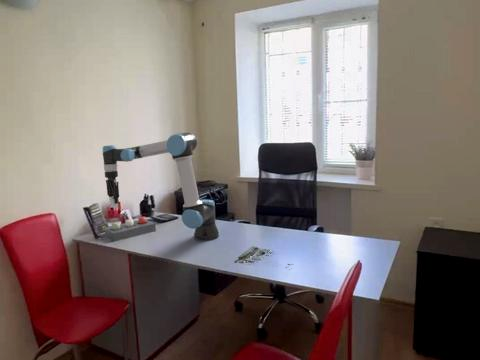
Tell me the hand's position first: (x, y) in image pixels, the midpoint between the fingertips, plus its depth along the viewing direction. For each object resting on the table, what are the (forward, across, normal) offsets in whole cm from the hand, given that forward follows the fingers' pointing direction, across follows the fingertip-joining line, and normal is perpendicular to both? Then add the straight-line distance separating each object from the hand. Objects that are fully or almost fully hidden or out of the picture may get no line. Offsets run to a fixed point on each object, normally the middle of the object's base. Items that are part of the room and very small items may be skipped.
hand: (114, 207), depth 234 cm
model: (+19, -95, -40) cm, 105 cm away
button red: (+15, 0, -18) cm, 23 cm away
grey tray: (+19, 0, -9) cm, 21 cm away
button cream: (+15, 0, -9) cm, 17 cm away
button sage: (+15, 0, 0) cm, 15 cm away
